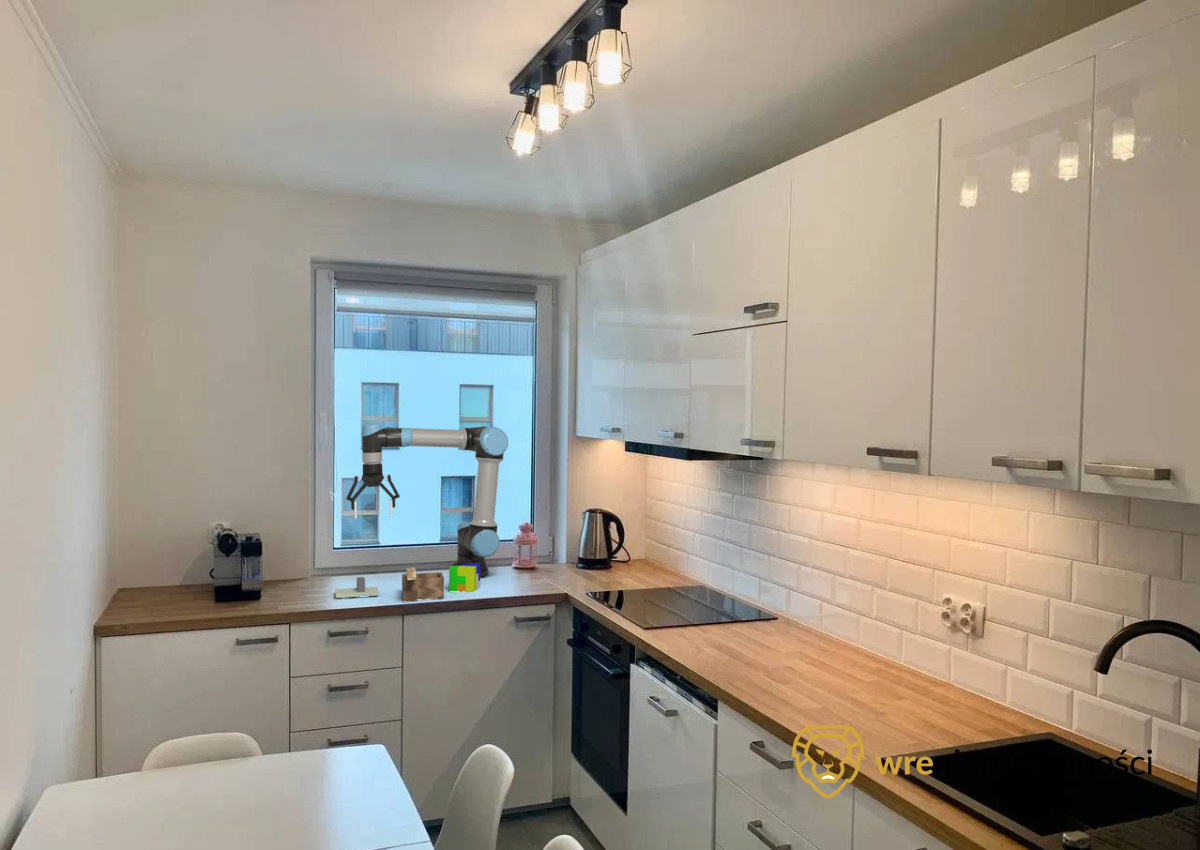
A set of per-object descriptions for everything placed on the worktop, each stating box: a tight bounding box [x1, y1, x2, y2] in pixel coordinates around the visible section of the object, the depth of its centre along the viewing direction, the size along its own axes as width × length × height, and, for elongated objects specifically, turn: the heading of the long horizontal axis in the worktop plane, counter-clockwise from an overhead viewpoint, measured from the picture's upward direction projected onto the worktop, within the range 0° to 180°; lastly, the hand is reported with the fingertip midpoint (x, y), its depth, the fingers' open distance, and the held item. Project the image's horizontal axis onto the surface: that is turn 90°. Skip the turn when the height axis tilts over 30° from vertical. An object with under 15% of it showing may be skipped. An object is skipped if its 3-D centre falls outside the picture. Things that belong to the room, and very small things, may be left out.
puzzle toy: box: [448, 562, 481, 592], centre depth 340 cm, size 10×10×10 cm
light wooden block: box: [405, 567, 417, 580], centre depth 316 cm, size 3×8×3 cm, turn 16°
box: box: [401, 572, 445, 602], centre depth 327 cm, size 15×13×9 cm
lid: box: [334, 576, 380, 599], centre depth 329 cm, size 16×10×7 cm
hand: (373, 517), depth 337 cm, fingers open, 13 cm apart
